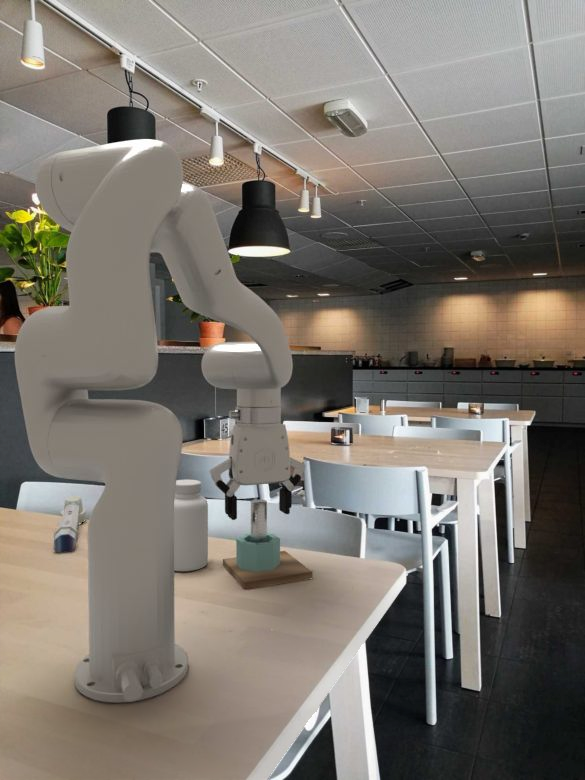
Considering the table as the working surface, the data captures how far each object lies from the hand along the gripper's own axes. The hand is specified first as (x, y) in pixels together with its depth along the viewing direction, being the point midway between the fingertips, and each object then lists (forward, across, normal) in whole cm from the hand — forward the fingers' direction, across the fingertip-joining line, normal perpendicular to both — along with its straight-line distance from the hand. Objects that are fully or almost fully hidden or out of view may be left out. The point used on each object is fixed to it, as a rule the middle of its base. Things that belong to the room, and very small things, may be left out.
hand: (258, 515), depth 100 cm
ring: (+9, 0, 0) cm, 9 cm away
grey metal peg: (+9, 0, 0) cm, 9 cm away
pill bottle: (+10, -11, +8) cm, 17 cm away
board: (+10, +1, -1) cm, 10 cm away
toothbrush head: (+10, -29, +36) cm, 48 cm away
